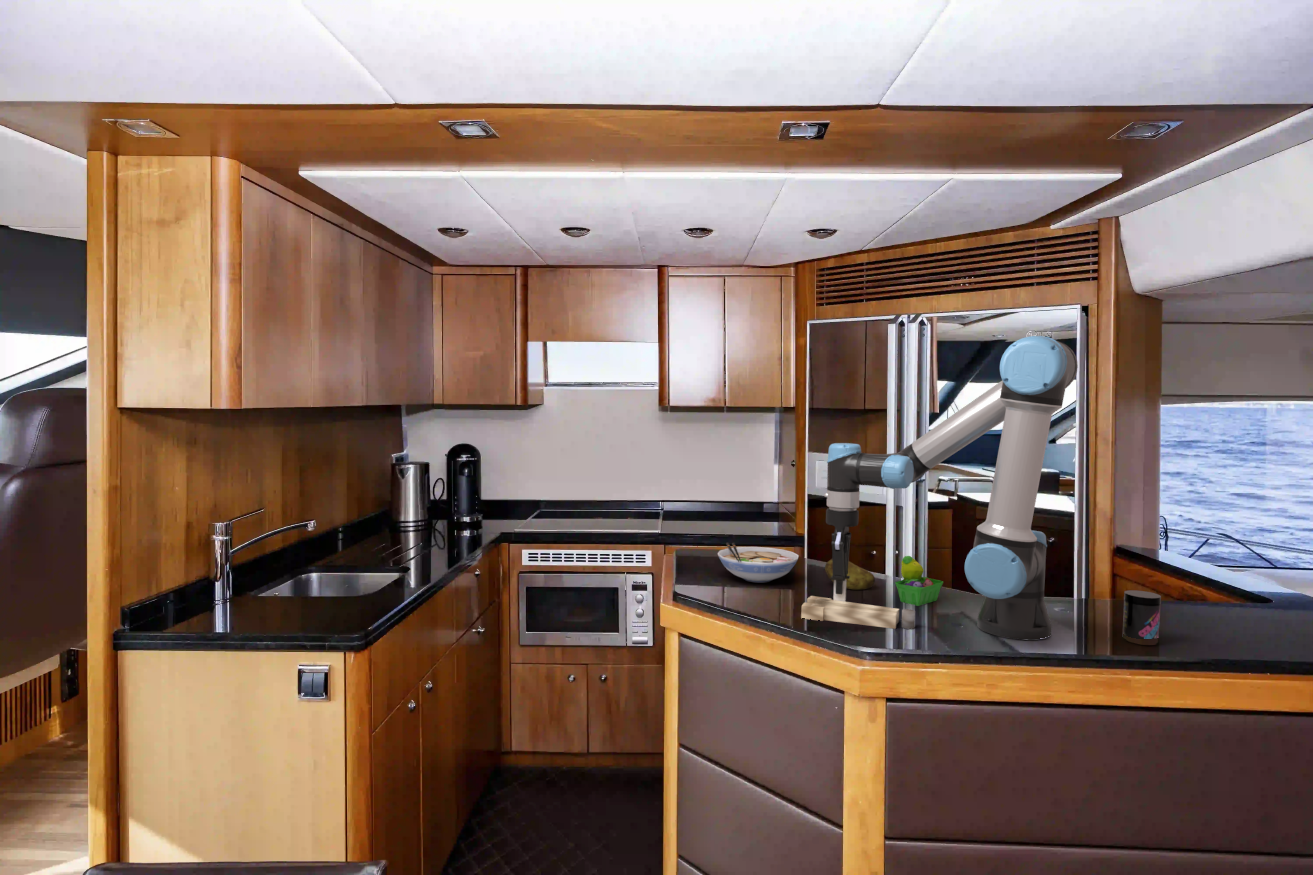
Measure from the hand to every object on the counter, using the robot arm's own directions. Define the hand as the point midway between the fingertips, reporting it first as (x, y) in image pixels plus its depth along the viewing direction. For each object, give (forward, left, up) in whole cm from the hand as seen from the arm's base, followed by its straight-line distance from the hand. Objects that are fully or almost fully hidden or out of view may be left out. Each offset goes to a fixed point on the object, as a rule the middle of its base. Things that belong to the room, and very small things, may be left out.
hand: (839, 606), depth 187 cm
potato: (+2, -27, -2) cm, 27 cm away
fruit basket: (-16, -21, -2) cm, 27 cm away
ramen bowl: (+27, -25, -2) cm, 37 cm away
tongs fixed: (-5, +6, -2) cm, 8 cm away
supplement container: (-63, -6, -2) cm, 63 cm away
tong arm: (-3, +2, -2) cm, 4 cm away
